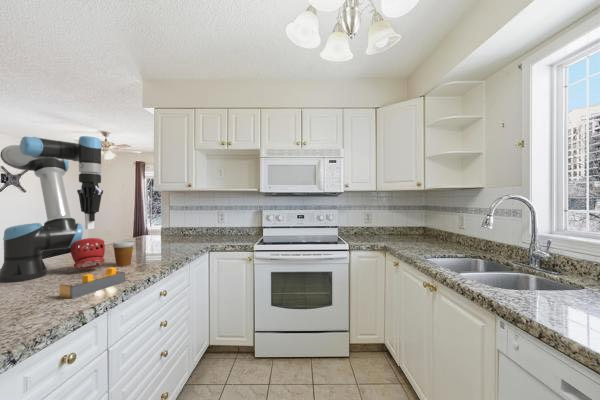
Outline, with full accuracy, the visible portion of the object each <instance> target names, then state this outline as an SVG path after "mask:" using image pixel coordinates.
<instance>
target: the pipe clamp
mask: <svg viewBox="0 0 600 400" xmlns="http://www.w3.org/2000/svg"><path fill="white" fill-rule="evenodd" d="M116 271H117V267H113V266H111V267H108V268H106V272H105V275H103V276H100V277H98V278H97V279H100V278H103V277H107V276H110V275H114V274H116ZM81 280H82V281H81V284H82V283H86V282H89V281H93V280H95V278H94V274H92V273H86V274H83V275H81Z"/></svg>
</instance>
